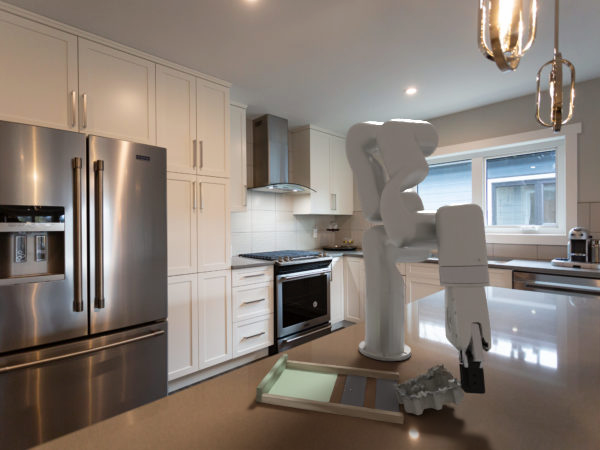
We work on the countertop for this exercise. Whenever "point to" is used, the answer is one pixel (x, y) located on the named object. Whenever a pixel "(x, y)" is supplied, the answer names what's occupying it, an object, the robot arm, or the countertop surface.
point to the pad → (305, 384)
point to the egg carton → (429, 390)
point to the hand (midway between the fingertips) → (473, 391)
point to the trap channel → (322, 406)
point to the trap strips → (384, 393)
